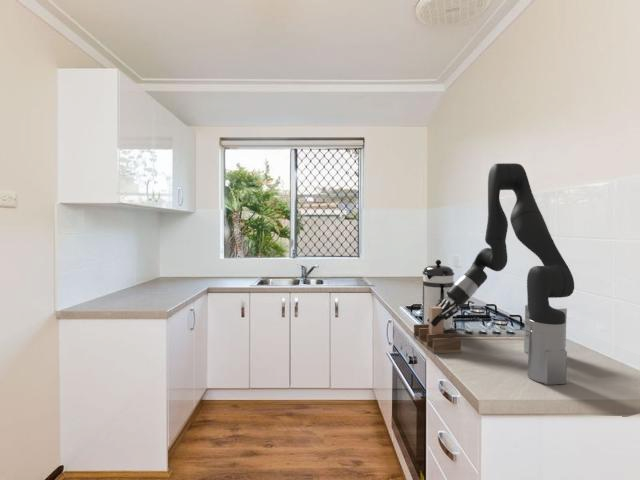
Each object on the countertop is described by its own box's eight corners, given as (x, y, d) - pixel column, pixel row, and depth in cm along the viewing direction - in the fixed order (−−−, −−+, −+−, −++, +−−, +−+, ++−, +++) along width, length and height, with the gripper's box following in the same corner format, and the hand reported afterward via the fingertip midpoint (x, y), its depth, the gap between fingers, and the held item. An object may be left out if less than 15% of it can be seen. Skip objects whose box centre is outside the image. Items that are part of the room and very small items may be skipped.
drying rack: (460, 352, 140) (461, 338, 140) (433, 353, 139) (433, 339, 139) (437, 336, 160) (437, 323, 160) (413, 336, 159) (413, 324, 159)
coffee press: (462, 336, 160) (463, 261, 159) (422, 335, 162) (423, 261, 160) (452, 324, 177) (453, 257, 176) (416, 323, 179) (417, 257, 178)
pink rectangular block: (443, 334, 148) (443, 308, 148) (431, 335, 148) (432, 308, 147) (440, 332, 151) (440, 306, 151) (428, 332, 151) (428, 306, 150)
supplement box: (546, 360, 132) (547, 310, 132) (522, 351, 141) (523, 304, 140) (566, 356, 136) (567, 307, 135) (542, 348, 145) (543, 302, 144)
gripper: (447, 280, 156) (417, 312, 156) (464, 286, 142) (431, 321, 142) (460, 293, 157) (430, 325, 156) (478, 301, 143) (445, 335, 143)
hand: (430, 323), depth 149 cm, fingers closed on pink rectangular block, 2 cm apart
